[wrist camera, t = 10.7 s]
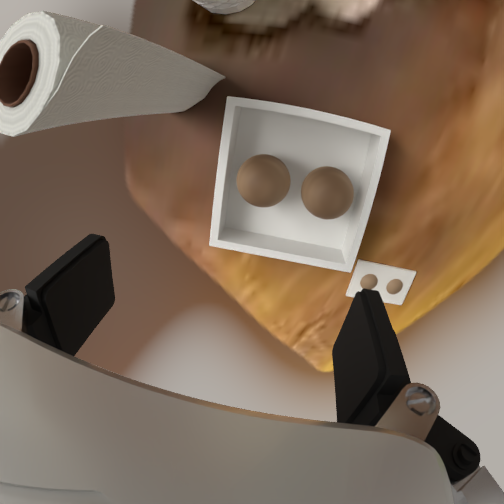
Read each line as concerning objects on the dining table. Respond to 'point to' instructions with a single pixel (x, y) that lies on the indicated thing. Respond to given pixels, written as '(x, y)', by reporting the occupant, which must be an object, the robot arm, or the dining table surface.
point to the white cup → (224, 5)
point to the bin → (295, 182)
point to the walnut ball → (263, 180)
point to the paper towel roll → (89, 75)
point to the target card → (381, 281)
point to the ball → (327, 192)
